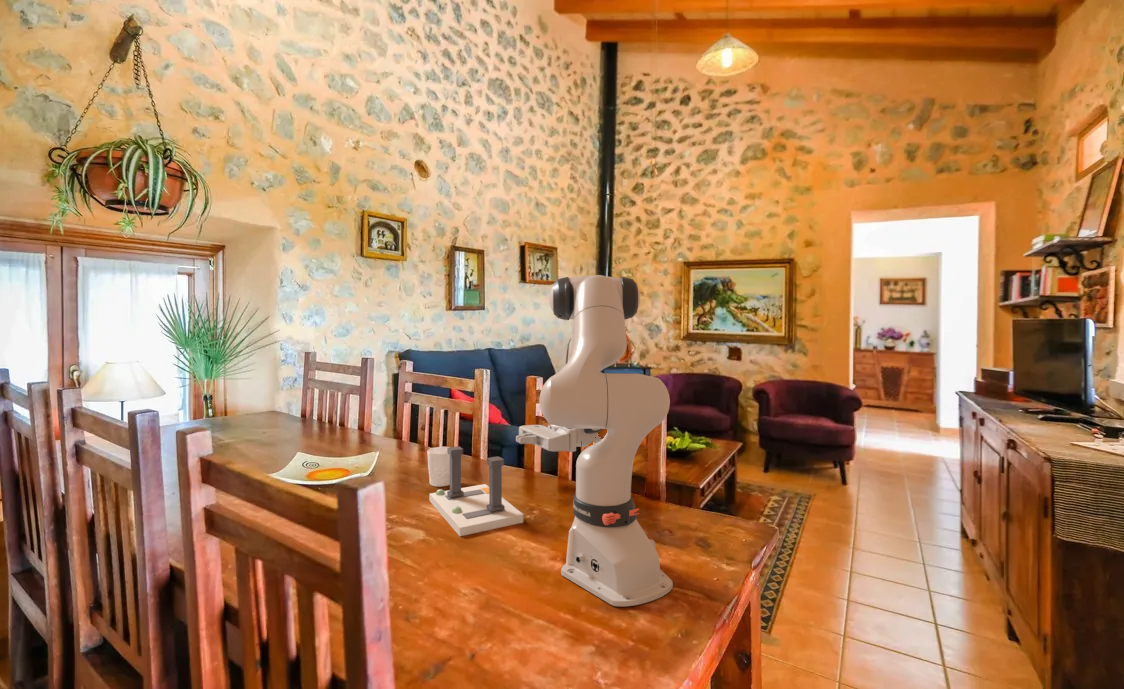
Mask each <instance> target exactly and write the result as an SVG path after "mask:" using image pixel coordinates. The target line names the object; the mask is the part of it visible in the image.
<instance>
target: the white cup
mask: <svg viewBox="0 0 1124 689" xmlns="http://www.w3.org/2000/svg"><path fill="white" fill-rule="evenodd" d="M449 447H450V446H437V447H431V448H429V449H428V450H427V452H426V453H427V468H428V477H429V478H428V479H429V485H430V486H432V487H435V488H436V487H438V488H442V487H448V486H450V455H449V454H448V453H447V448H449Z"/></svg>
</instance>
